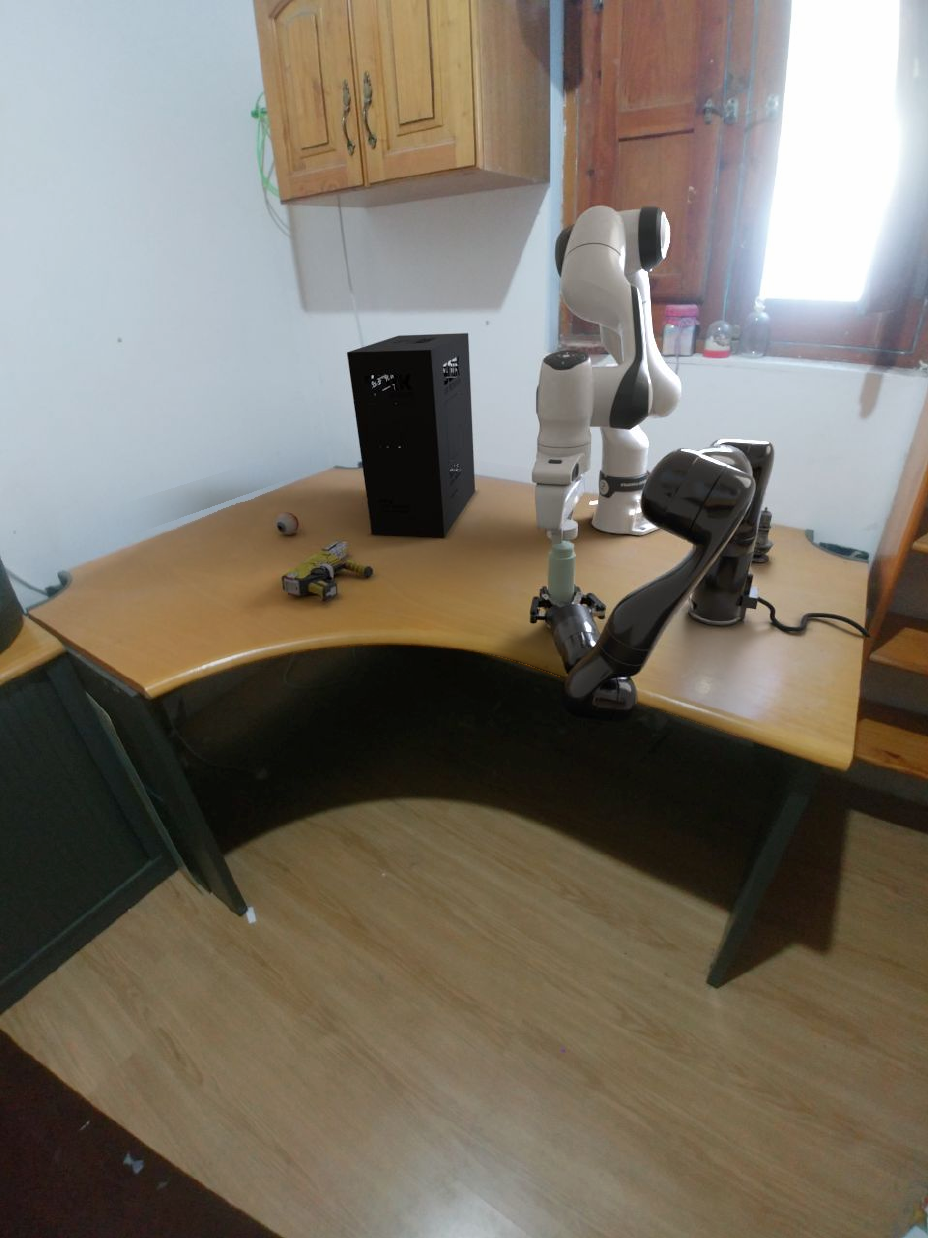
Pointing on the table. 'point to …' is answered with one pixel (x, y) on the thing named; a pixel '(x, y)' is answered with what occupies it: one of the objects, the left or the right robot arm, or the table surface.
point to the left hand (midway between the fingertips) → (562, 535)
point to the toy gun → (321, 572)
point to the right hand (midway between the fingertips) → (558, 589)
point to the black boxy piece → (414, 431)
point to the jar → (561, 572)
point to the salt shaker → (763, 537)
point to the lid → (568, 530)
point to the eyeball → (287, 523)
